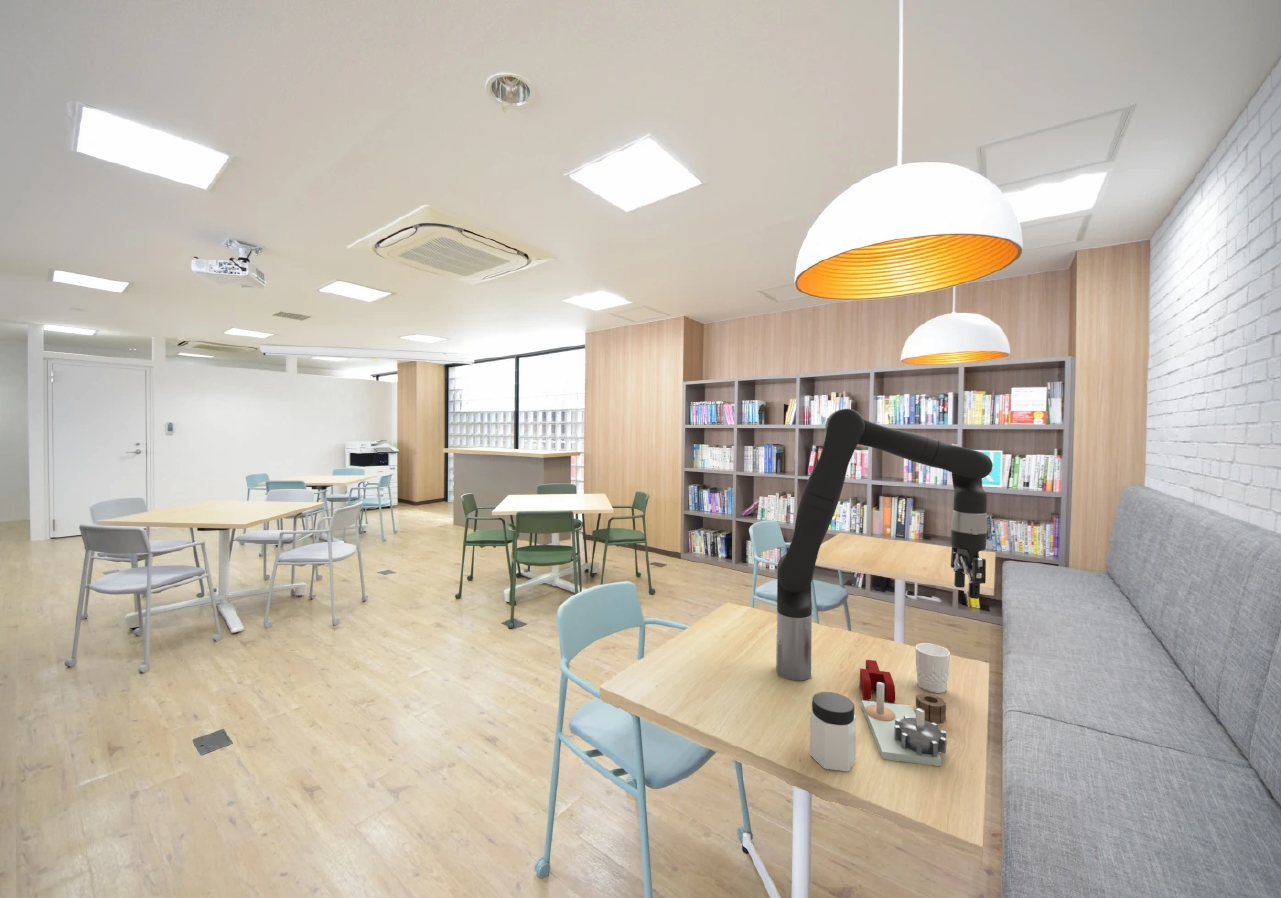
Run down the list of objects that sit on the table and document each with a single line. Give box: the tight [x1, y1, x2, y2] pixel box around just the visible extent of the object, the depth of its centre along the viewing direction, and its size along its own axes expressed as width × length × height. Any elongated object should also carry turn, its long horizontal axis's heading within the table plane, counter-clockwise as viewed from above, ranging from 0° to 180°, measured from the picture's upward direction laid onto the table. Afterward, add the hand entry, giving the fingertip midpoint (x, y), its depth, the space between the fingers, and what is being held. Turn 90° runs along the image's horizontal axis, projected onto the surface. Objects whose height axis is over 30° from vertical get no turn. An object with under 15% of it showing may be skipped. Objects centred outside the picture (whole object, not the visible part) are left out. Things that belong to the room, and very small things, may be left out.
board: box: [861, 682, 942, 767], centre depth 112 cm, size 11×20×8 cm, turn 167°
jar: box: [809, 691, 857, 772], centre depth 103 cm, size 9×8×12 cm
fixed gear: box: [894, 707, 947, 757], centre depth 106 cm, size 10×10×7 cm
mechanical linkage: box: [859, 659, 896, 704], centre depth 131 cm, size 16×7×5 cm, turn 163°
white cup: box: [915, 642, 951, 694], centre depth 132 cm, size 8×8×10 cm
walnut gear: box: [915, 692, 947, 724], centre depth 118 cm, size 6×6×4 cm
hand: (966, 592), depth 127 cm, fingers open, 8 cm apart
